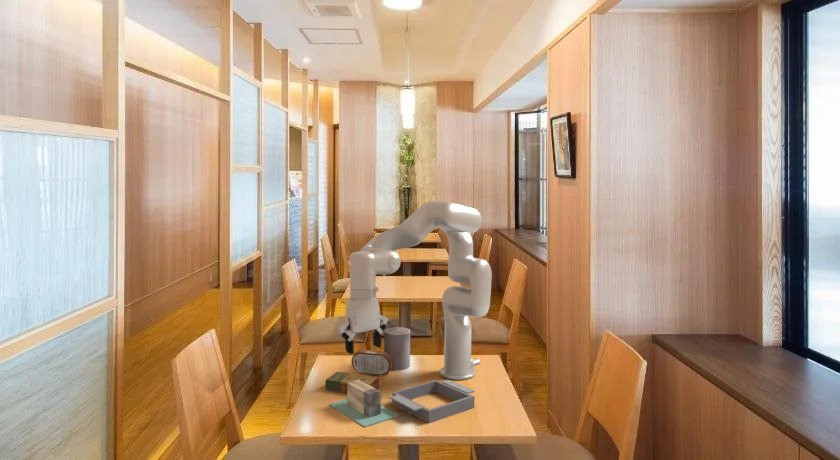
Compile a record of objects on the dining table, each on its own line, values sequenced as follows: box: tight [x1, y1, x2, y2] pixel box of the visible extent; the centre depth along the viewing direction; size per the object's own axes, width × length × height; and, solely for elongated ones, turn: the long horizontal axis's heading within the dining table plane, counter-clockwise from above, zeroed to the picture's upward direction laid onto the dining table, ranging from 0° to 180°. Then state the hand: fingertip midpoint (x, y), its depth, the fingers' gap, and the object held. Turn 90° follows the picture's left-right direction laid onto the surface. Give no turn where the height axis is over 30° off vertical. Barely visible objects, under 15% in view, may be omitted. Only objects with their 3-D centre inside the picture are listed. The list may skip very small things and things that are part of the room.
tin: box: [351, 349, 393, 377], centre depth 203 cm, size 15×3×8 cm, turn 76°
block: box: [346, 380, 382, 418], centre depth 172 cm, size 4×12×7 cm, turn 39°
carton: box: [324, 371, 380, 394], centre depth 189 cm, size 8×16×4 cm, turn 70°
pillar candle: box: [383, 326, 411, 371], centre depth 211 cm, size 10×10×15 cm
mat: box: [328, 398, 400, 428], centre depth 172 cm, size 12×20×1 cm, turn 39°
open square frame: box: [389, 379, 475, 424], centre depth 176 cm, size 24×18×4 cm
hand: (363, 349), depth 170 cm, fingers open, 9 cm apart
